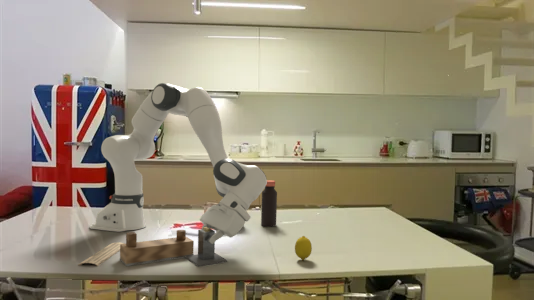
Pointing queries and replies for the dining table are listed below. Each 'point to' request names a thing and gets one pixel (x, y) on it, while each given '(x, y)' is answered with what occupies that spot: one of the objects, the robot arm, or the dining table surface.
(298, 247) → the lemon
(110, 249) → the newspaper
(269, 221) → the bottle
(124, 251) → the plane body
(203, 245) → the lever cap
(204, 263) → the pad
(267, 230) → the dining table surface
